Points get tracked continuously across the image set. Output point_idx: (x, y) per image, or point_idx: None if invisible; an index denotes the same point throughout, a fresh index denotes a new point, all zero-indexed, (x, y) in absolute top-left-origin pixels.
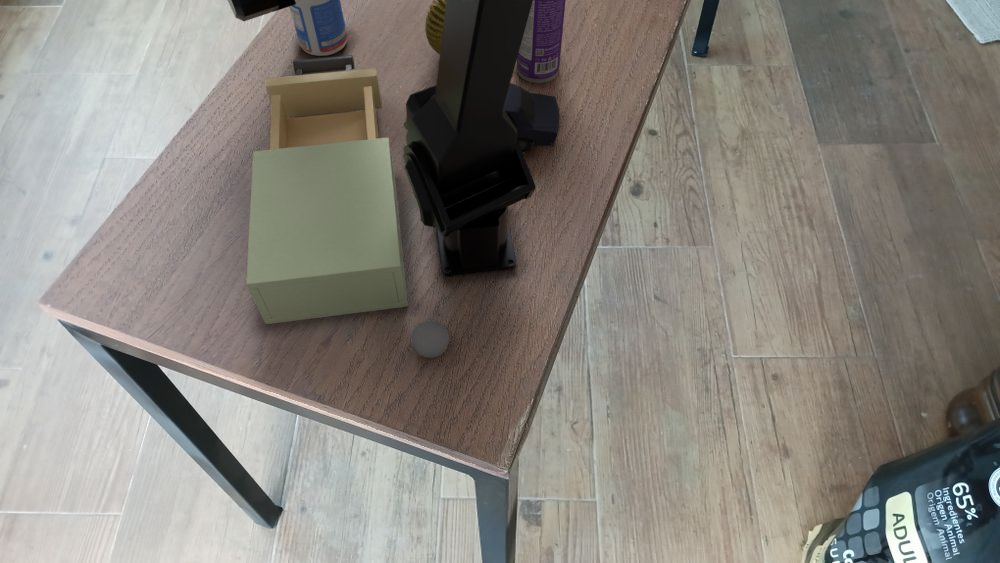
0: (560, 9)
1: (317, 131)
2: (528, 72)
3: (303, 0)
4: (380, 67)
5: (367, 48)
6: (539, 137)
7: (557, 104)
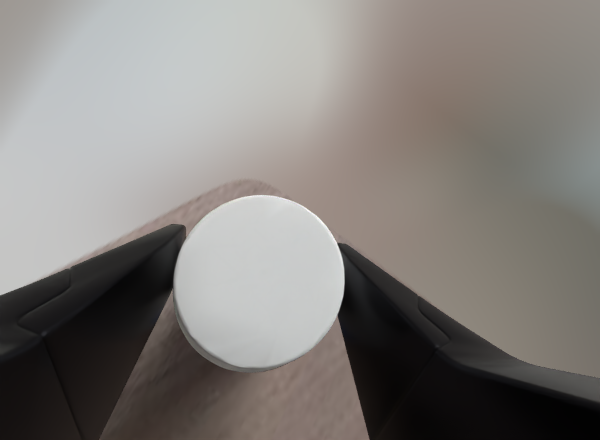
0: None
1: None
2: None
3: (195, 348)
4: (302, 431)
5: (309, 355)
6: None
7: None
